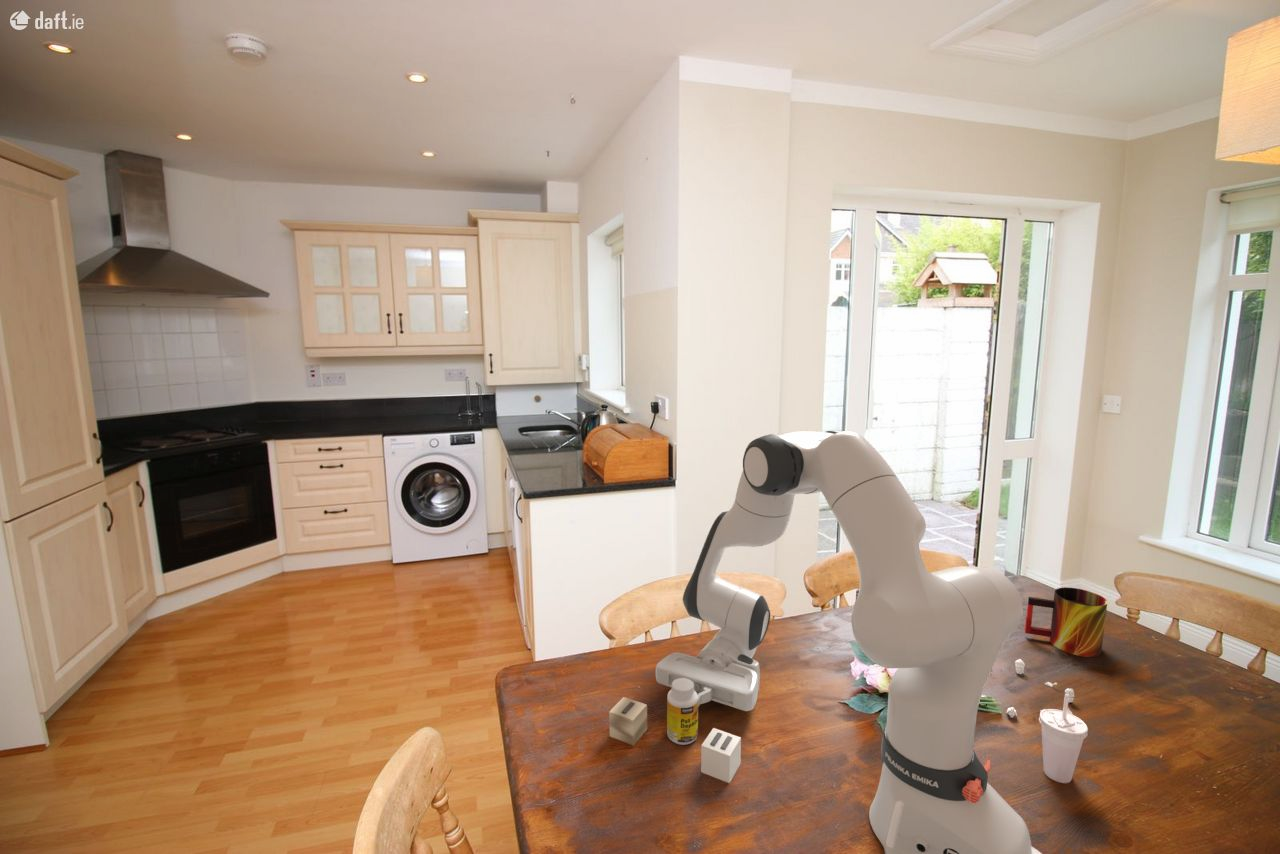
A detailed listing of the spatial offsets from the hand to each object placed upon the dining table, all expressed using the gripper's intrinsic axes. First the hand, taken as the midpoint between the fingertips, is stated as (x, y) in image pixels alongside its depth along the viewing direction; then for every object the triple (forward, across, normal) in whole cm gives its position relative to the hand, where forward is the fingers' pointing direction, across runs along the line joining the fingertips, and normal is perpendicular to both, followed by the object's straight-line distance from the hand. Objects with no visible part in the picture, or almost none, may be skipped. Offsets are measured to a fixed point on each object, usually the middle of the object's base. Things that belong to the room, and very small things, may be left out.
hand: (689, 702), depth 108 cm
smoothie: (-18, +58, +5) cm, 61 cm away
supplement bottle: (+3, 0, +5) cm, 6 cm away
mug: (-68, +64, +5) cm, 93 cm away
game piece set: (-41, +53, +6) cm, 67 cm away
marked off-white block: (+7, +9, +5) cm, 12 cm away
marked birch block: (+7, -9, +5) cm, 12 cm away
